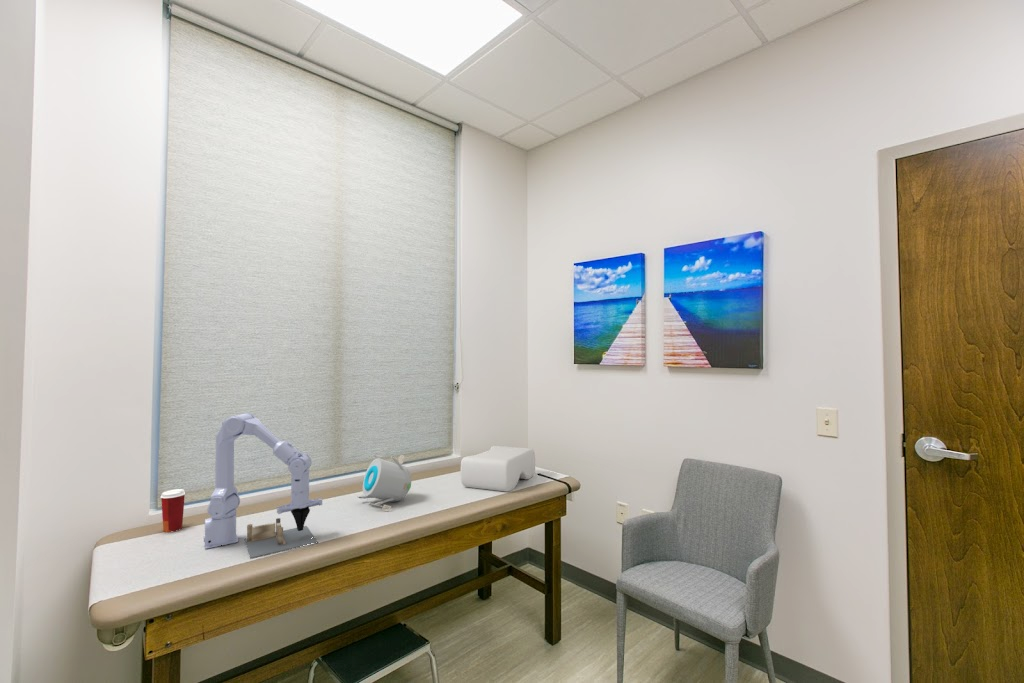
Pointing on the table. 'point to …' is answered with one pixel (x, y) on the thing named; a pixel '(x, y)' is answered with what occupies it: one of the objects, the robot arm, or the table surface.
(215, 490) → the robot arm
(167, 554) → the table surface
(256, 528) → the fixed fence
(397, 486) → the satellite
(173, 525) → the paper cup
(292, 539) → the card
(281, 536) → the fence gate
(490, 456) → the knee pillow
